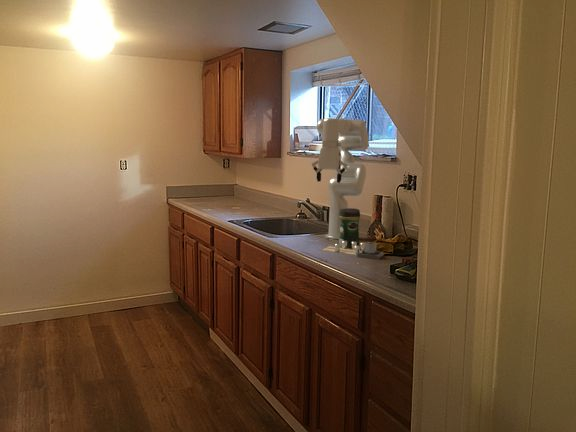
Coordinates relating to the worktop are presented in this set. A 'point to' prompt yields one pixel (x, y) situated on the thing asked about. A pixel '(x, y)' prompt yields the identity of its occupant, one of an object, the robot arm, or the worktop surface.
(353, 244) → the spacers
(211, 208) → the worktop surface
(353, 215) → the coffee jar
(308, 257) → the worktop surface
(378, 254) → the tray
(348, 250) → the board
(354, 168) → the robot arm
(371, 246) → the nut
